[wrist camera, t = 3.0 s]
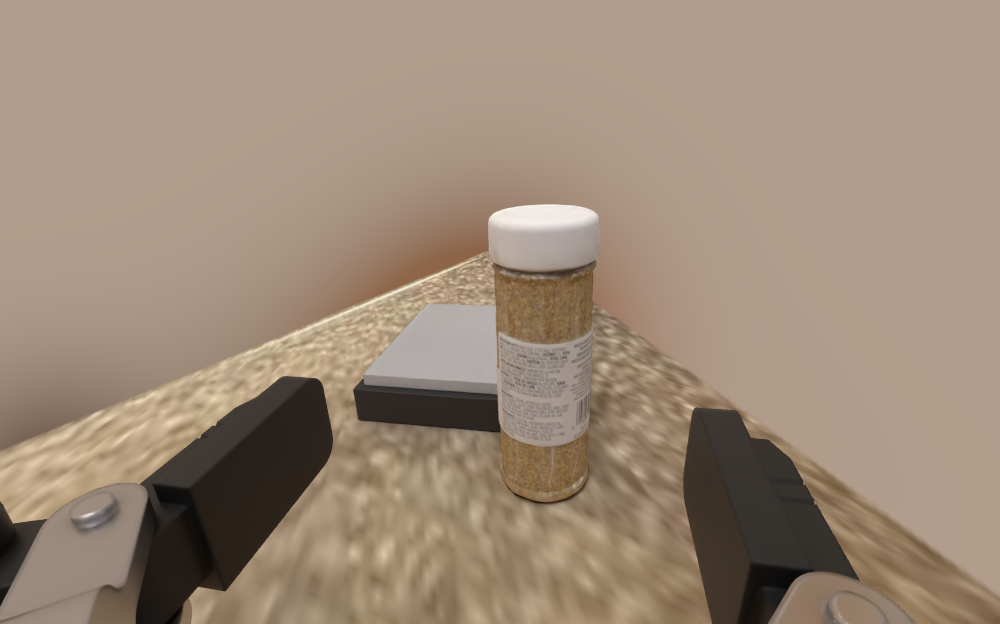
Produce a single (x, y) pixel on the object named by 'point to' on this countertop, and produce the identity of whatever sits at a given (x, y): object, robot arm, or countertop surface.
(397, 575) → the countertop surface
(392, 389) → the kitchen scale
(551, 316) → the sprinkles bottle
